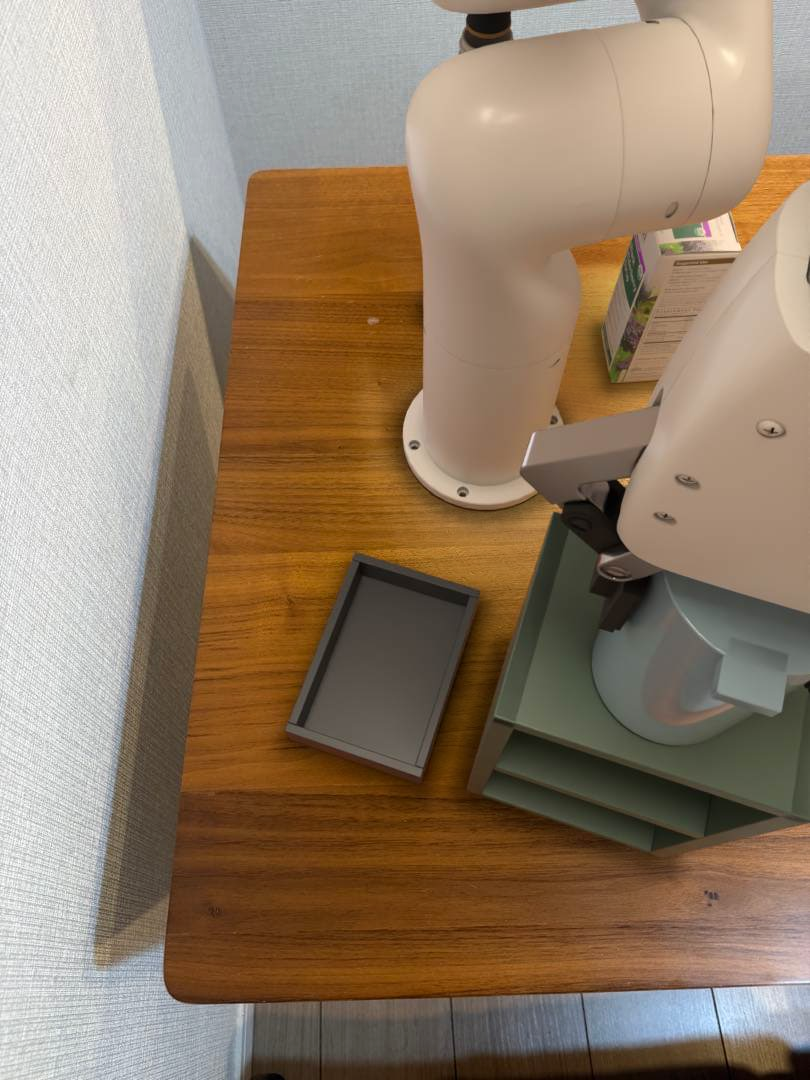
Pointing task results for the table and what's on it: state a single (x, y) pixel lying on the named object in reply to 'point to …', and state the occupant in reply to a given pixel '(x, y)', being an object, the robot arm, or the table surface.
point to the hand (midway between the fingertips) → (716, 621)
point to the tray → (384, 667)
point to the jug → (699, 660)
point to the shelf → (624, 737)
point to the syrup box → (663, 294)
